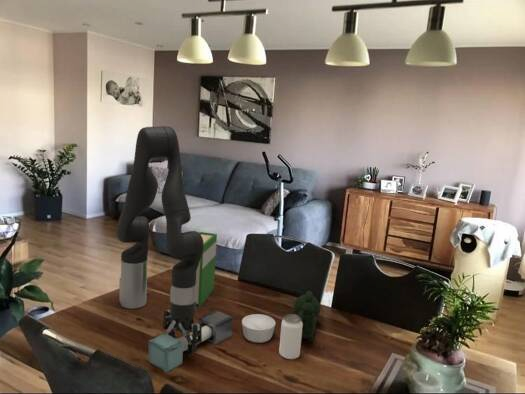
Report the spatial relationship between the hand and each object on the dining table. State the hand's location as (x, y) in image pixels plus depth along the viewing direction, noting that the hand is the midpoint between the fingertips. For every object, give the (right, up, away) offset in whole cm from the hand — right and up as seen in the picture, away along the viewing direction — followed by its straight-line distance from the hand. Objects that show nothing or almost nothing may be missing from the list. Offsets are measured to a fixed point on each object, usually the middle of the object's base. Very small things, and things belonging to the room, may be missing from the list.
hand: (181, 349), depth 125 cm
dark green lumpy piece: (+39, -1, +20) cm, 44 cm away
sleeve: (+9, 0, +12) cm, 15 cm away
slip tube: (+3, -1, +4) cm, 5 cm away
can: (+33, -3, +5) cm, 33 cm away
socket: (-4, -2, -5) cm, 6 cm away
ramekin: (+23, -1, +14) cm, 27 cm away
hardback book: (-1, +6, +42) cm, 42 cm away
